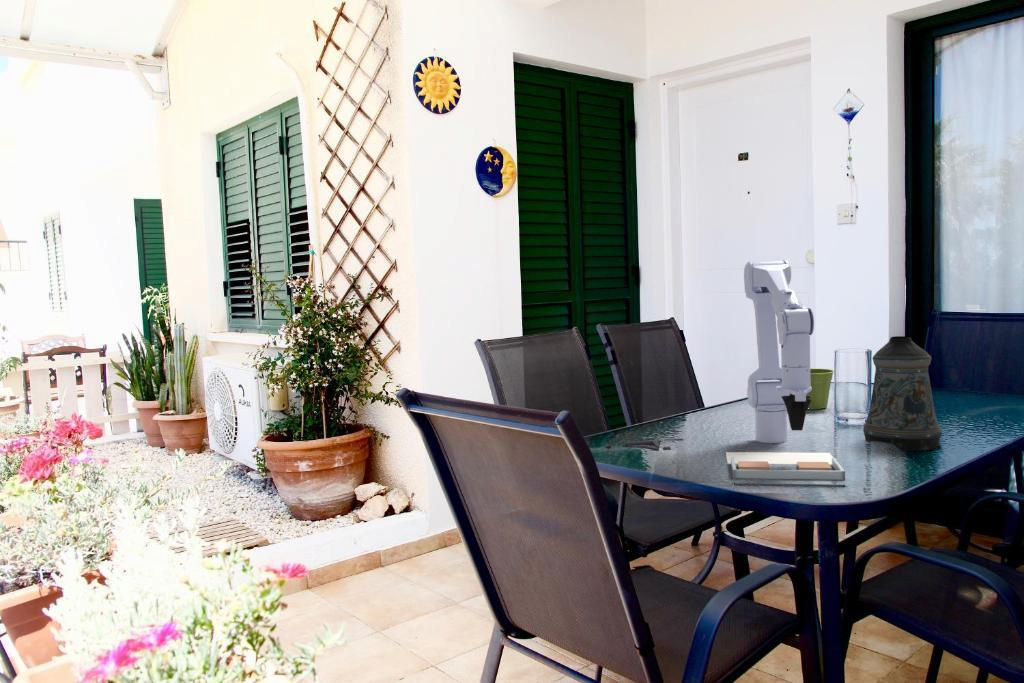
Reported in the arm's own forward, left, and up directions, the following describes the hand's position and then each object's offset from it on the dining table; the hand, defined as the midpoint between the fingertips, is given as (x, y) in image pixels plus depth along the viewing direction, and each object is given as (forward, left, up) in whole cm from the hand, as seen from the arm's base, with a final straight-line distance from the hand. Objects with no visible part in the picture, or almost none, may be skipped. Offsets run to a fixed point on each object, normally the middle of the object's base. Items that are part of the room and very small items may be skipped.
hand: (796, 429), depth 169 cm
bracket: (-17, -29, -9) cm, 35 cm away
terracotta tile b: (+7, +2, -8) cm, 11 cm away
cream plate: (-2, -3, -8) cm, 9 cm away
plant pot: (-77, +14, -8) cm, 78 cm away
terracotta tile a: (+7, -9, -8) cm, 14 cm away
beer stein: (-27, +26, -8) cm, 38 cm away
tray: (+10, -3, -8) cm, 13 cm away
